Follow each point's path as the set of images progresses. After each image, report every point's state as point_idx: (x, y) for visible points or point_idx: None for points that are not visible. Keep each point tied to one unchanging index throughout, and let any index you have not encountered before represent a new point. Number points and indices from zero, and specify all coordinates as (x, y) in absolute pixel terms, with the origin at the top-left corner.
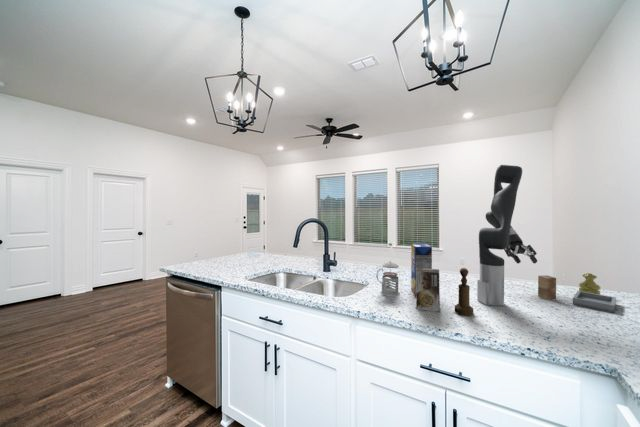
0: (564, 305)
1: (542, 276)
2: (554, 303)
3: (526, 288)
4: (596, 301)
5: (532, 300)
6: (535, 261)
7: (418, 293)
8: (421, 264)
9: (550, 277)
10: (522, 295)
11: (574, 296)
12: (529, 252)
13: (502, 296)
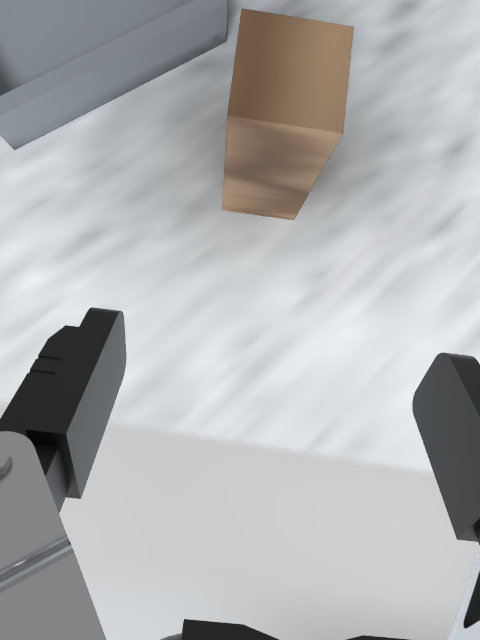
0: None
1: (334, 90)
2: None
3: (190, 413)
4: (37, 9)
5: (412, 157)
6: (119, 324)
7: None
8: None
9: (285, 37)
10: (388, 259)
11: (180, 21)
12: (44, 542)
13: None
